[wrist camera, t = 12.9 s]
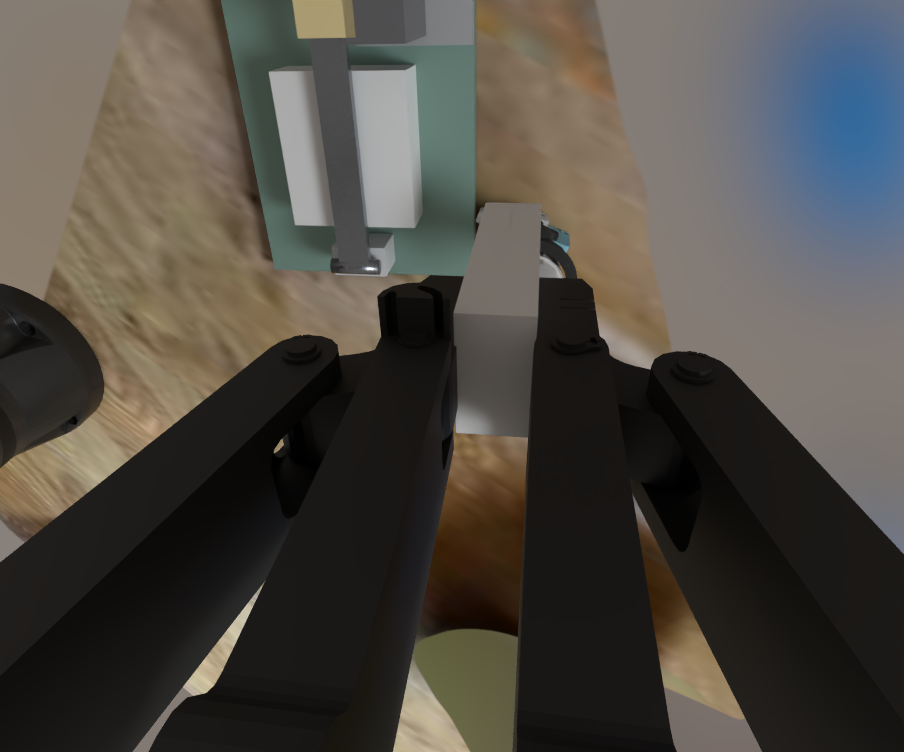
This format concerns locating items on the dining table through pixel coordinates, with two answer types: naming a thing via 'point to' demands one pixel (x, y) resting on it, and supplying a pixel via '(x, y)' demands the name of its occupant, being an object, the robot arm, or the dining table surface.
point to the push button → (551, 250)
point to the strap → (342, 155)
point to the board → (439, 141)
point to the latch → (361, 20)
